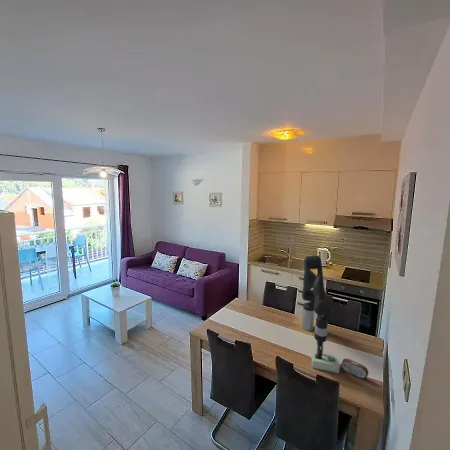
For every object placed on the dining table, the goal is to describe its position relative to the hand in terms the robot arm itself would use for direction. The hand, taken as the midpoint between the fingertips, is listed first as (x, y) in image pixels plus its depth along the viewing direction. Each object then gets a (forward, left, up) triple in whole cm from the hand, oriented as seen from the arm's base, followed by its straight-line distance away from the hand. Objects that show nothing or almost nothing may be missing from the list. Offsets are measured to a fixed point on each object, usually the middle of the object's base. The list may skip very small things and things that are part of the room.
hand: (318, 354), depth 165 cm
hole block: (0, +4, -7) cm, 8 cm away
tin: (+3, +21, -7) cm, 22 cm away
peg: (0, 0, -7) cm, 7 cm away
